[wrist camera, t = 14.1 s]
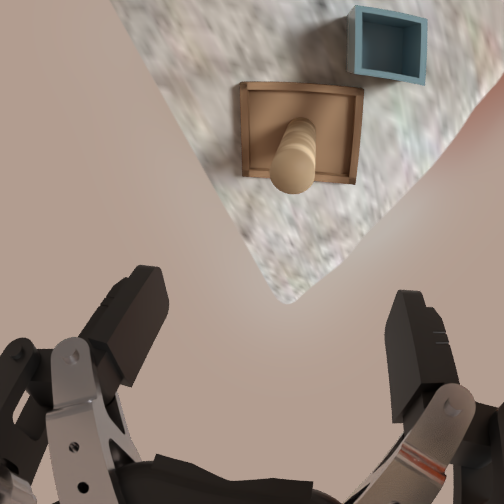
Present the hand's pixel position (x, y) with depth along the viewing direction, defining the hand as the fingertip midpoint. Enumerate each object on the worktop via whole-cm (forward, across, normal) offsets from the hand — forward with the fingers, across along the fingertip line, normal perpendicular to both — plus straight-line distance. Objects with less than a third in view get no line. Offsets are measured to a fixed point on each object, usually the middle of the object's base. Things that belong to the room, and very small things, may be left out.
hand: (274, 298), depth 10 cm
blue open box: (+28, -8, -10) cm, 31 cm away
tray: (+28, 0, +1) cm, 28 cm away
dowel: (+28, 0, +1) cm, 28 cm away
